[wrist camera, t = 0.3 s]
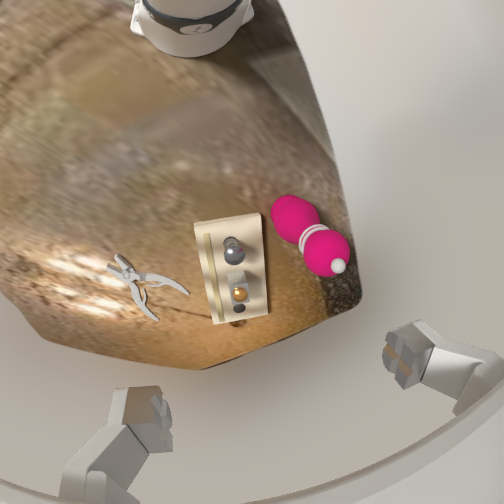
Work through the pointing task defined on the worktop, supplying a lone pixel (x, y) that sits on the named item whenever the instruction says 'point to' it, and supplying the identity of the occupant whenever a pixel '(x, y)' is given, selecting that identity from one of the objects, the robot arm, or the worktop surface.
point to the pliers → (131, 275)
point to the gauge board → (215, 266)
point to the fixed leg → (233, 252)
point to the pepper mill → (310, 235)
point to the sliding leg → (238, 287)
